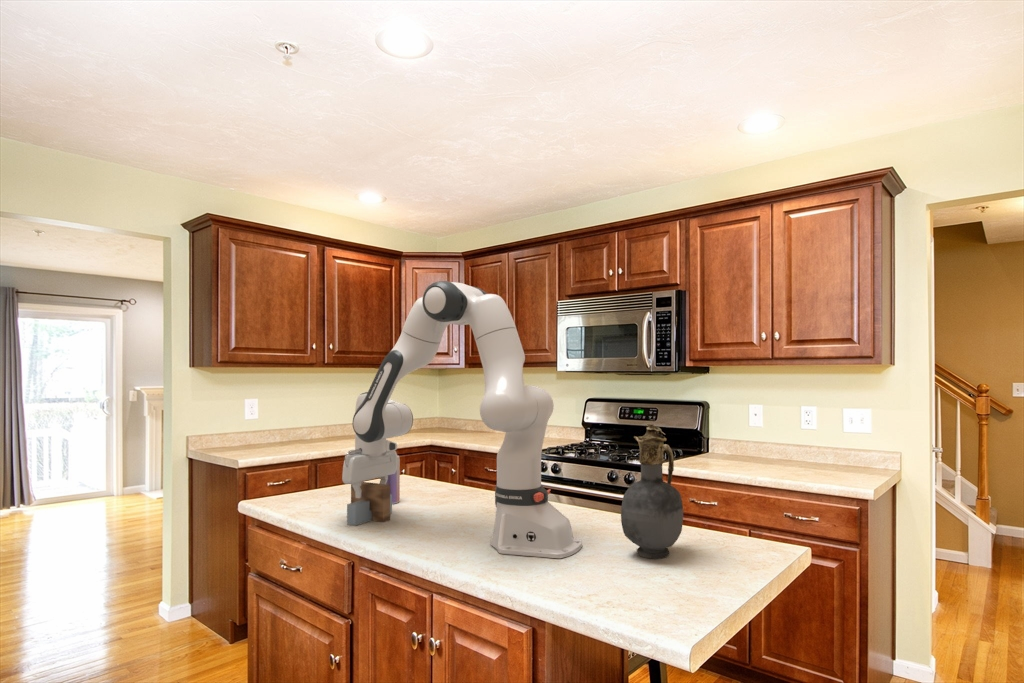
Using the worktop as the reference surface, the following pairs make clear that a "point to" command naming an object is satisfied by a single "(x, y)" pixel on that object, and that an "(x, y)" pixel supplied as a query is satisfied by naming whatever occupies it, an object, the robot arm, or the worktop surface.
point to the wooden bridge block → (375, 499)
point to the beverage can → (395, 483)
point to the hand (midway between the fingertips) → (370, 494)
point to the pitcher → (652, 500)
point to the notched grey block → (361, 512)
